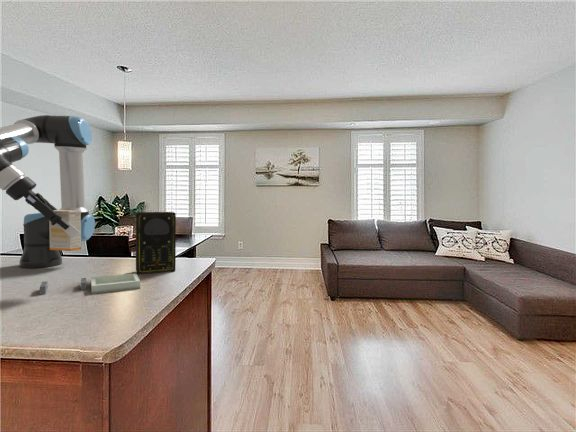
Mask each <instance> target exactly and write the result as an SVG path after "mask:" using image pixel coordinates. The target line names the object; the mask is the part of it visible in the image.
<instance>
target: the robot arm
mask: <svg viewBox="0 0 576 432" xmlns="http://www.w3.org/2000/svg"><path fill="white" fill-rule="evenodd" d="M91 130H92V129H91V127H90V124H88V122H87V120H86V119H84V118H83V117H79V116H73V115H49V114H46V115H43V114H42V115H37V116H31V117H27V118H24V119H23V118H22V119H20V120H19V119H18V120H16V121H14V123H13V124H10V125H7V126H3V127H2V126H0V190H2V191H5V194H7V196H9V197H10V198H11V199H12V200H14V201H19V200H20V199H22V198H24V199H25V200H24V201H25V202H26V204H28V205H30V206H32V207H33V208H34V209H35V210H37V211H38V212H36V213H35V212H34V213H27V214H26V215H24V217H23V224H22V225H23V246H24V248H23V251H22V254H21V257H20V259H19V262H18V263H19V267H20V268H25V269H37V268H50V267H54V266H59V265H61V264H63V256H62V255H61V252H60V250H50V232H49V220H50V222H52V223H51V224H52V225H53V226H54V225H55V224H56V225H57V226H58V227H59V228H61V229H62V230H63V231H64V232H66V233H67V234H68V235H69V236H71V237H72V238H74V237H75V236H76V235H77V234H79V233H80V232H79V231H78V230H77V229H76V228H75V227H73V226H72V225H71V224H70V223H68V222H67V221H66V220H65V219H64V218H61V216H59V215H58V214H57V213H56V212H54V211H53V210H58V208H56V207H55V206H54V205H52V203H50V202H49V201H48V200H47V199H46V198H44V196H43V195H42V194H41V193H39V192H37V193H36V192H34V191H33V189H35V188H36V187H37V183H36V182H35V181H34V180H32V178H30V177H29V176H25V172H23V171H22V170H21V169H19V168H18V167H17V166H16V165H15V164H13V163H15V162H17V161H21V160H22V159H23V158H25V157H26V156H27V155H28V154H29V146H28V145H33V144H34V143H42V144H54V145H53V146H54V149H56V150H57V152H58V155H59V157H58V160H59V161H58V162H59V178H60V179H59V180H60V183H59V184H60V199H61V201H60V202H61V204H60V205H61V207H60V208H59V210H76V211H81V242H86V241H88V240H90V238H91V237H92V236H93V234H94V231H95V226H96V220H95V218H94V216H93V215H91V214H89V213H90V212H89V210H88V209H87V208H86V206H85V204H86V203H85V180H84V158H83V157H84V156H83V153H85V151H87V146H89V145H90V144H91V143H92V141H93V134H92V131H91Z"/></svg>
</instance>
